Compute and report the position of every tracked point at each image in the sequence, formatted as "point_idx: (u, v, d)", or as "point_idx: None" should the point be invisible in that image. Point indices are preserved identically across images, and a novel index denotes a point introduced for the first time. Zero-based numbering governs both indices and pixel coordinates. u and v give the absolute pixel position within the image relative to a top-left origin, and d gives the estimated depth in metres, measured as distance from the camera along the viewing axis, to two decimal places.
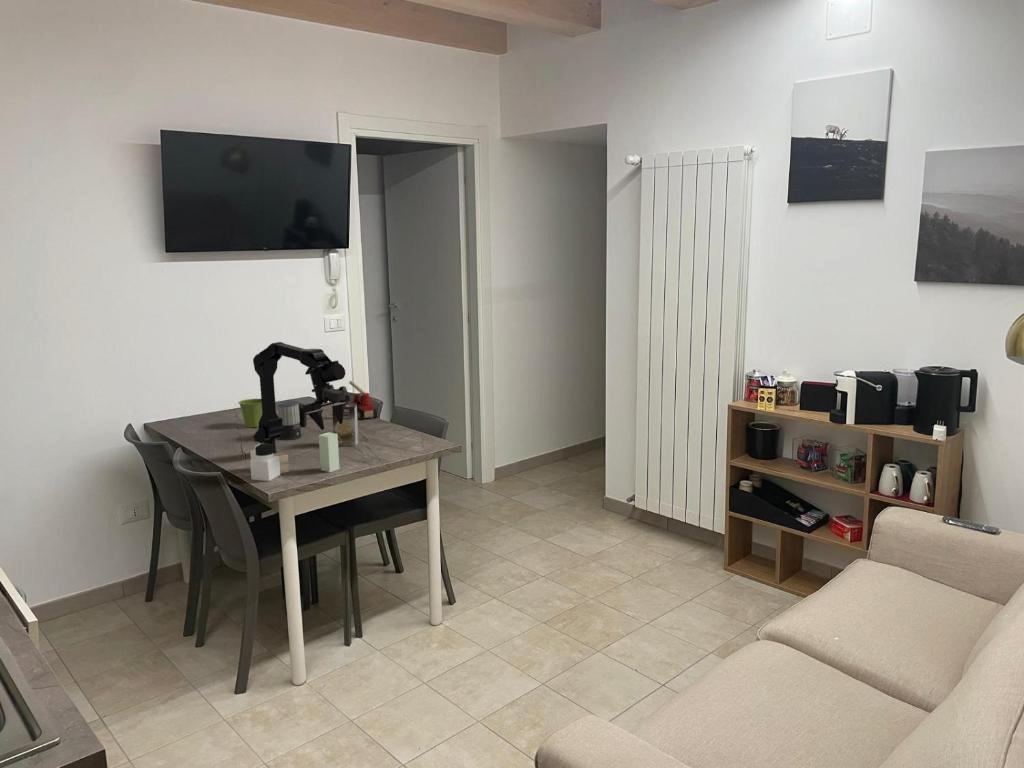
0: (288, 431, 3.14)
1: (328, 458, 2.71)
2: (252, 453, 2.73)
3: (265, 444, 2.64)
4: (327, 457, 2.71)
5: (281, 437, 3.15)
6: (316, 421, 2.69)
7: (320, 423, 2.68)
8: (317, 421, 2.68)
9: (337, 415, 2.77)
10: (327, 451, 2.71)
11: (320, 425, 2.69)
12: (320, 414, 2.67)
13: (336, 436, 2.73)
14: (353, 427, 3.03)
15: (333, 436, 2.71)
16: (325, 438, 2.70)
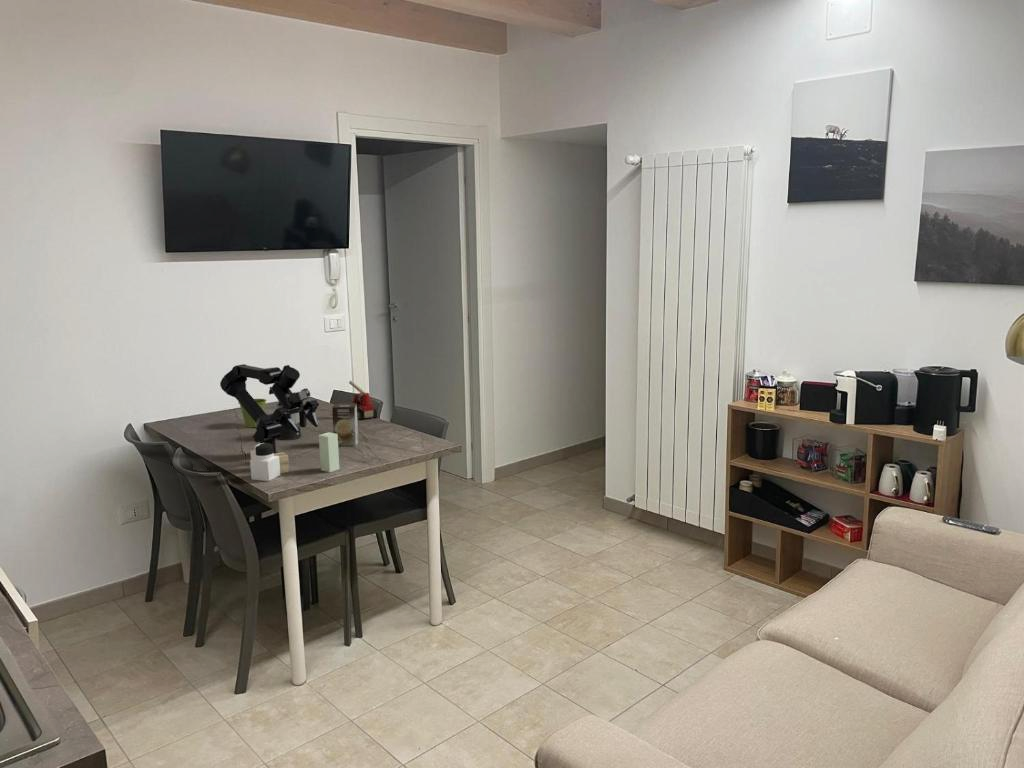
0: (288, 431, 3.14)
1: (328, 458, 2.71)
2: (252, 453, 2.73)
3: (265, 444, 2.64)
4: (327, 457, 2.71)
5: (281, 437, 3.15)
6: (289, 426, 2.74)
7: (292, 426, 2.74)
8: (289, 426, 2.74)
9: (311, 420, 2.83)
10: (327, 451, 2.71)
11: (293, 428, 2.74)
12: (289, 417, 2.74)
13: (336, 436, 2.73)
14: (353, 427, 3.03)
15: (333, 436, 2.71)
16: (326, 438, 2.70)
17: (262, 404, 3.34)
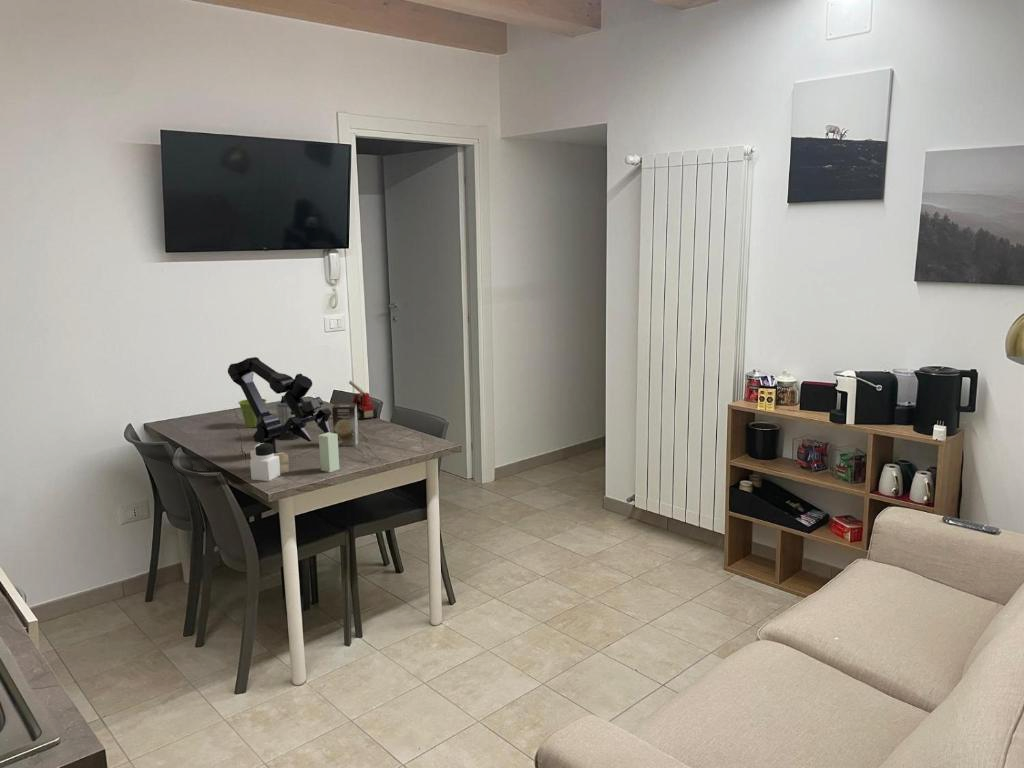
0: None
1: (328, 458, 2.71)
2: (252, 453, 2.73)
3: (265, 444, 2.64)
4: (327, 457, 2.71)
5: (280, 437, 3.15)
6: (301, 436, 2.71)
7: (305, 435, 2.71)
8: (302, 435, 2.71)
9: (324, 429, 2.80)
10: (327, 451, 2.71)
11: (306, 437, 2.71)
12: (302, 426, 2.71)
13: (336, 436, 2.73)
14: (353, 427, 3.03)
15: (333, 436, 2.71)
16: (325, 438, 2.70)
17: None
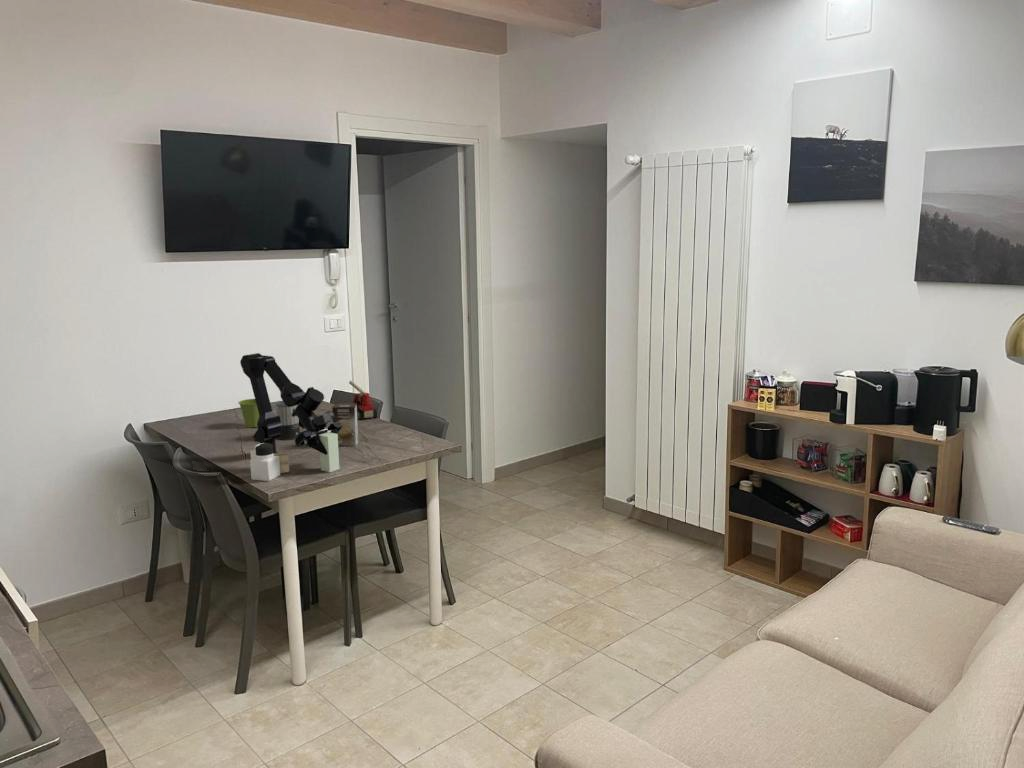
0: (287, 431, 3.14)
1: (328, 458, 2.71)
2: (252, 453, 2.73)
3: (265, 444, 2.64)
4: (327, 457, 2.71)
5: (280, 437, 3.15)
6: (318, 448, 2.71)
7: (321, 448, 2.70)
8: (318, 448, 2.71)
9: None
10: (327, 451, 2.71)
11: (322, 450, 2.70)
12: (318, 439, 2.70)
13: (336, 436, 2.73)
14: (353, 427, 3.03)
15: (333, 436, 2.71)
16: (326, 438, 2.70)
17: None
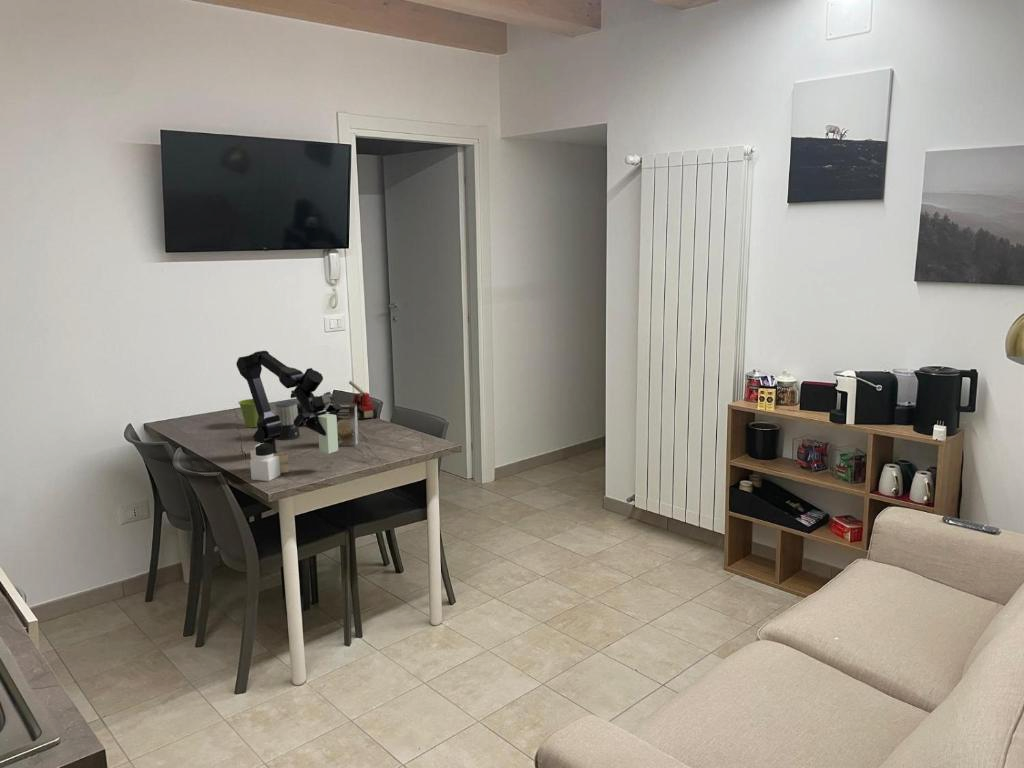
0: (286, 431, 3.14)
1: (327, 439, 2.69)
2: (252, 453, 2.73)
3: (265, 444, 2.64)
4: (326, 438, 2.70)
5: None
6: (316, 430, 2.70)
7: (320, 429, 2.69)
8: (317, 429, 2.69)
9: None
10: (326, 432, 2.69)
11: (321, 432, 2.69)
12: (317, 420, 2.69)
13: (335, 417, 2.71)
14: (353, 427, 3.03)
15: (332, 417, 2.70)
16: (324, 419, 2.68)
17: None
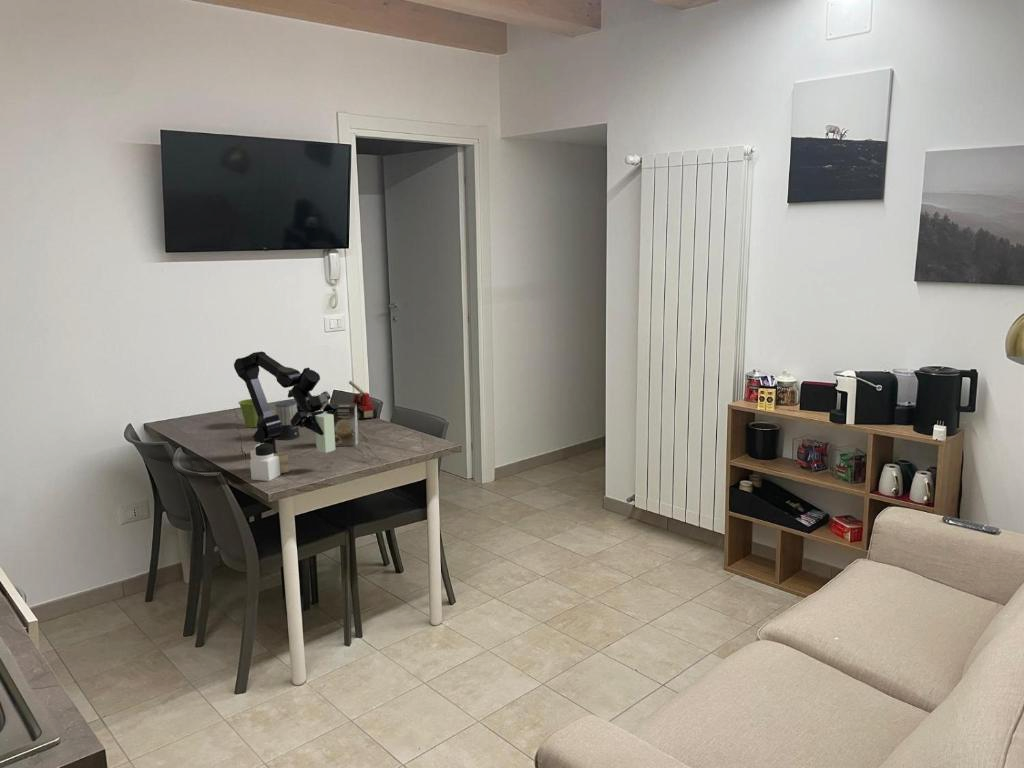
0: (286, 431, 3.14)
1: (324, 438, 2.70)
2: (252, 453, 2.73)
3: (265, 444, 2.64)
4: (323, 438, 2.70)
5: None
6: (313, 429, 2.70)
7: (317, 429, 2.70)
8: (314, 428, 2.70)
9: None
10: (323, 432, 2.70)
11: (318, 431, 2.70)
12: (314, 420, 2.70)
13: (332, 417, 2.72)
14: (353, 427, 3.03)
15: (329, 417, 2.71)
16: (321, 418, 2.69)
17: None
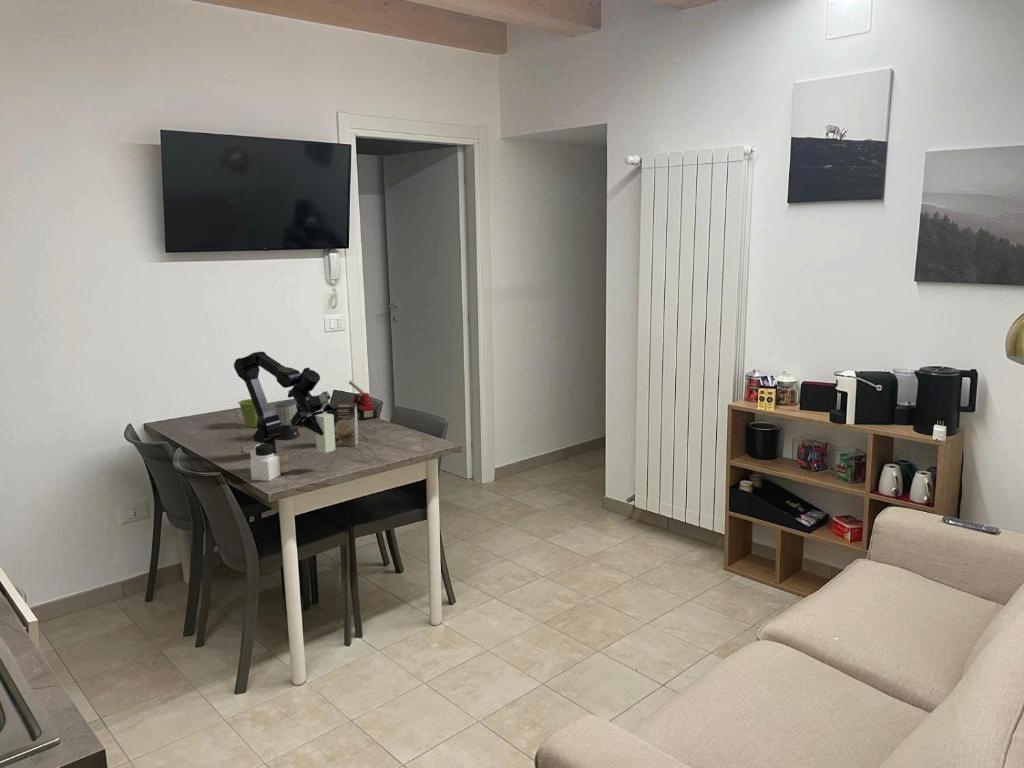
0: (286, 431, 3.14)
1: (324, 438, 2.70)
2: (252, 453, 2.73)
3: (265, 444, 2.64)
4: (323, 438, 2.70)
5: None
6: (313, 429, 2.70)
7: (317, 429, 2.70)
8: (314, 428, 2.70)
9: None
10: (323, 432, 2.70)
11: (318, 431, 2.70)
12: (314, 420, 2.70)
13: (332, 417, 2.72)
14: (353, 427, 3.03)
15: (329, 417, 2.71)
16: (321, 418, 2.69)
17: None
